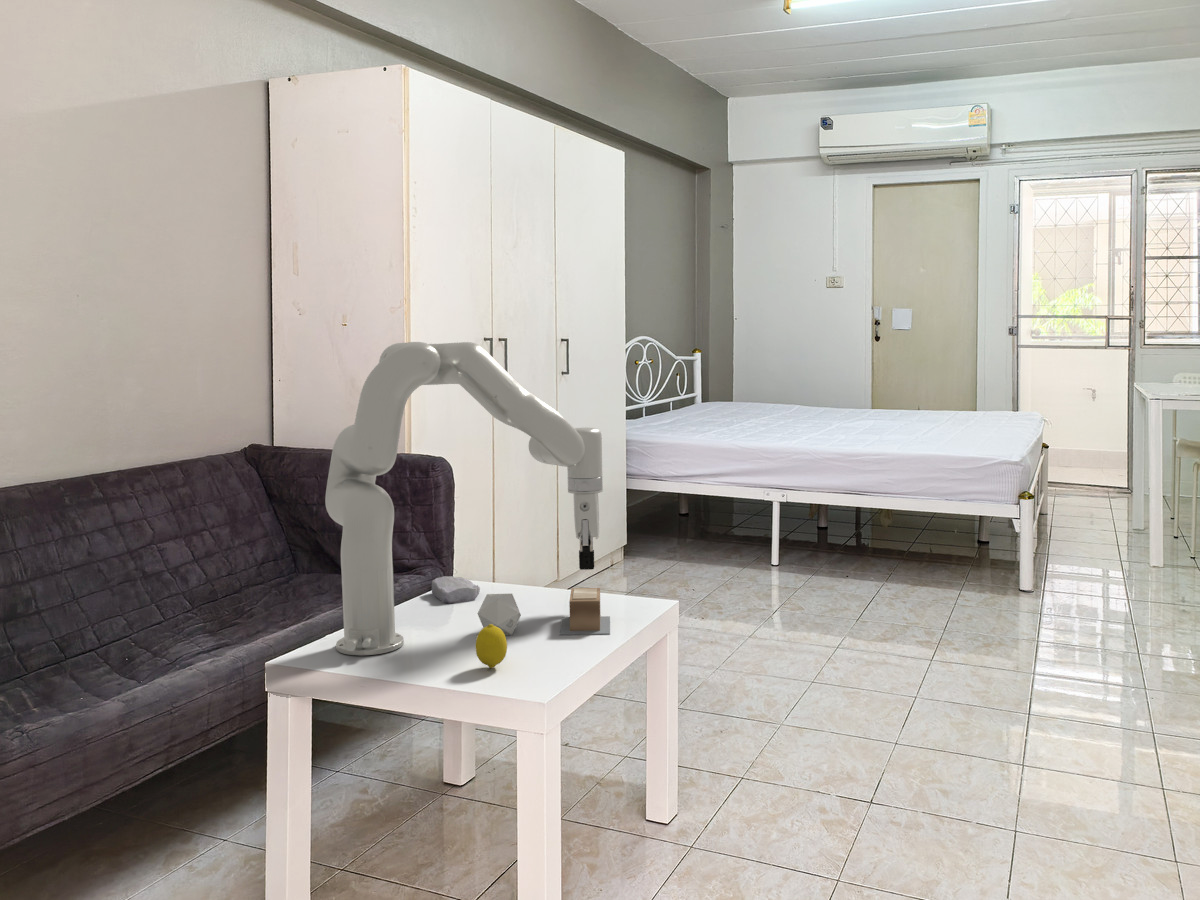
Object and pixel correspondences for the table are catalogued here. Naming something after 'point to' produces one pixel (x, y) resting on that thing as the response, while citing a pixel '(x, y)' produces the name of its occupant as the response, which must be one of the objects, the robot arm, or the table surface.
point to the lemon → (491, 645)
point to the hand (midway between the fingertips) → (586, 568)
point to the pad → (603, 630)
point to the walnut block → (585, 609)
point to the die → (500, 612)
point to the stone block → (454, 589)
